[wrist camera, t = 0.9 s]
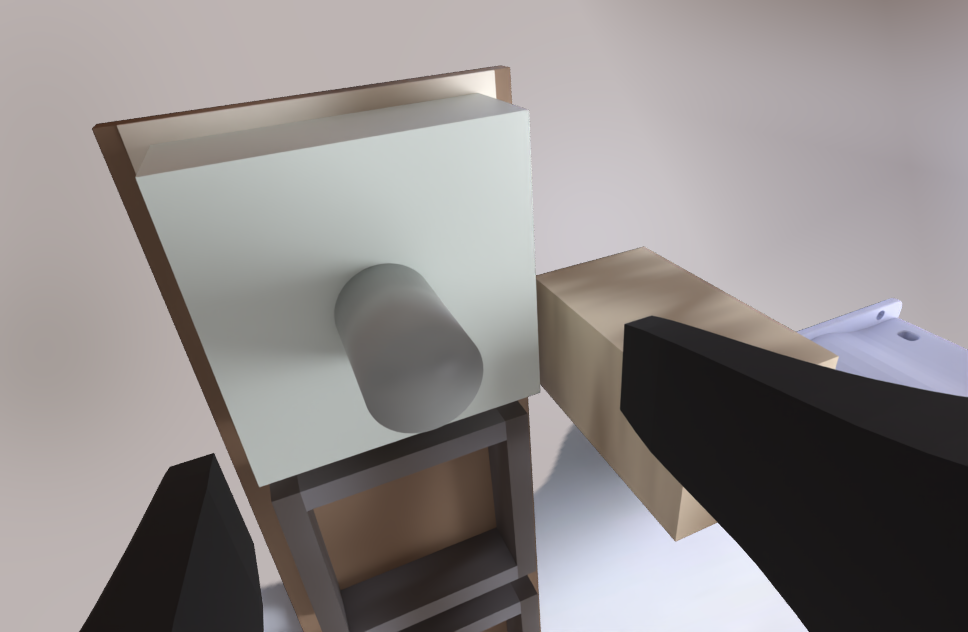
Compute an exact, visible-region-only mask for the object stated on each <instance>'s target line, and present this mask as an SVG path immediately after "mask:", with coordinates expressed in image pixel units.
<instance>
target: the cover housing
mask: <svg viewBox="0 0 968 632" xmlns="http://www.w3.org/2000/svg"><path fill="white" fill-rule="evenodd" d="M529 122H530V121H529V110H528V109H525V108H522V107H519V106H516V105H513V104H510V103H507V102H504V101H501V100H498V99H495V98H492V97H489V96H486V95H483V94H480V93H475V94H469V95H463V96H457V97H450V98H444V99H438V100H431V101H425V102H419V103H412V104H406V105H400V106H393V107H387V108H381V109H374V110H368V111H362V112H355V113H349V114H343V115H336V116H330V117H324V118H317V119H311V120H305V121H298V122H292V123H286V124H279V125H273V126H267V127H260V128H254V129H248V130H242V131H235V132H229V133H223V134H216V135H210V136H204V137H197V138H191V139H185V140H178V141H172V142H166V143H159V144H153V145H150V147H149V149H148V151H147V153H146V156H145V158H144V160H143V162H142V164H141V166H140V168H139V171H138V173H137V175H136V177H135V178H136V181H137V183H138V186H139V188H140V191H141V193H142V196H143V198H144V201H145V203H146V206H147V208H148V211H149V213H150V216H151V218H152V221H153V223H154V226H155V228H156V231H157V233H158V236H159V238H160V241H161V243H162V246H163V248H164V251H165V253H166V256H167V258H168V261H169V263H170V266H171V268H172V271H173V273H174V276H175V278H176V281H177V283H178V286H179V288H180V291H181V293H182V296H183V298H184V301H185V303H186V306H187V308H188V311H189V313H190V316H191V318H192V321H193V323H194V326H195V328H196V331H197V333H198V336H199V338H200V341H201V343H202V346H203V348H204V351H205V353H206V356H207V358H208V361H209V363H210V366H211V368H212V371H213V373H214V376H215V378H216V381H217V383H218V386H219V388H220V391H221V393H222V396H223V398H224V401H225V403H226V406H227V408H228V411H229V413H230V416H231V418H232V421H233V423H234V426H235V428H236V430H237V433H238V435H239V438H240V440H241V443H242V445H243V448H244V450H245V453H246V455H247V458H248V460H249V463H250V465H251V468H252V470H253V473H254V475H255V478H256V480H257V483H258V485H259V487H262V486H265V485H268V484H271V483H273V482H276V481H279V480H282V479H285V478H288V477H291V476H294V475H297V474H300V473H303V472H306V471H309V470H312V469H315V468H318V467H321V466H324V465H327V464H330V463H333V462H336V461H339V460H342V459H345V458H348V457H351V456H354V455H357V454H360V453H363V452H366V451H368V450H371V449H374V448H377V447H380V446H383V445H386V444H389V443H392V442H395V441H398V440H401V439H404V438H407V437H410V436H413V435H416V434H419V433H422V432H427V431H431V430H434V429H437V428H439V427H442V426H444V425H446V424H449V423H452V422H455V421H458V420H461V419H464V418H466V417H469V416H472V415H475V414H478V413H481V412H484V411H487V410H490V409H493V408H496V407H499V406H502V405H505V404H508V403H511V402H514V401H517V400H520V399H523V398H526V397H529V396H531V395H535V394H538V393H540V370H539V345H538V320H537V295H536V270H535V245H534V221H533V196H532V173H531V146H530V123H529Z"/></svg>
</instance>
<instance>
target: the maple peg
mask: <svg viewBox="0 0 968 632" xmlns="http://www.w3.org/2000/svg"><path fill="white" fill-rule="evenodd" d="M536 295H537V320H538V345H539V370H540V384H541V386H542V387H543V388H544V389H545V390H546V391H547V392H548V394H549V395H550V396H551V397H552V398H553V400H554V401H555V402H556V403H557V404H558V405H559V407H560V408H561V409H562V410H563V411H564V412H565V414H566V415H567V416H568V417H569V418H570V419H571V421H572V422H573V423H574V424H575V425H576V426H577V428H578V429H579V430H580V431H581V432H582V433H583V435H584V436H585V437H586V438H587V439H588V440H589V442H590V443H591V444H592V445H593V446H594V447H595V449H596V450H597V451H598V452H599V453H600V454H601V456H602V457H603V458H604V459H605V460H606V461H607V463H608V464H609V465H610V466H611V467H612V468H613V470H614V471H615V472H616V473H617V474H618V475H619V477H620V478H621V479H622V480H623V481H624V482H625V484H626V485H627V486H628V487H629V488H630V489H631V491H632V492H633V493H634V494H635V495H636V496H637V498H638V499H639V500H640V501H641V502H642V503H643V504H644V506H645V507H646V508H647V509H648V510H649V511H650V513H651V514H652V515H653V516H654V517H655V518H656V520H657V521H658V522H659V523H660V524H661V525H662V527H663V528H664V529H665V530H666V531H667V532H668V534H669V535H670V536H671V537H672V538H673V539H674V541H675V542H676V541H678V540H680V539H682V538H685V537H687V536H689V535H691V534H693V533H696V532H698V531H700V530H702V529H704V528H706V527H709V526H711V525H713V524H715V523H717V521H716V520H715V519H714V518H713V517H712V516H711V515H710V514H709V513H708V512H707V511H706V510H705V509H704V508H703V507H702V506H701V505H700V504H699V503H698V502H697V501H696V500H695V499H694V497H693V496H692V495H691V494H690V493H689V492H688V491H687V490H686V489H685V488H684V487H683V486H682V485H681V484H680V483H679V482H678V481H677V480H676V479H675V478H674V477H673V476H672V474H671V473H670V472H669V471H668V470H667V469H666V468H665V467H664V466H663V465H662V464H661V463H660V462H659V461H658V460H657V459H656V457H655V456H654V455H653V454H652V453H651V452H650V451H649V449H648V448H647V447H646V445H645V444H644V443H643V441H642V440H641V439H640V437H639V436H638V435H637V433H636V432H635V431H634V429H633V428H632V426H631V425H630V423H629V422H628V421H627V419H626V418H625V416H624V415H623V413H622V412H621V411H620V398H621V378H622V359H623V340H624V324H626V323H629V322H632V321H635V320H639V319H642V318H645V317H648V316H651V315H652V316H657V317H661V318H665V319H669V320H673V321H676V322H680V323H683V324H686V325H690V326H693V327H696V328H700V329H703V330H706V331H709V332H712V333H715V334H718V335H722V336H725V337H728V338H731V339H734V340H737V341H740V342H743V343H747V344H750V345H753V346H756V347H759V348H763V349H766V350H769V351H772V352H776V353H779V354H782V355H786V356H789V357H792V358H796V359H799V360H803V361H806V362H810V363H813V364H817V365H821V366H825V367H828V368H832V369H835V368H836V365H837V361H838V358H839V356H838V355H836V354H834V353H832V352H831V351H829V350H827V349H825V348H823V347H822V346H820V345H818V344H816V343H815V342H813V341H811V340H809V339H807V338H806V337H804V336H802V335H800V334H799V333H797V332H795V331H793V330H791V329H789V328H788V327H786V326H784V325H783V324H781V323H779V322H777V321H775V320H774V319H771V318H770V317H768V316H767V315H765V314H763V313H761V312H759V311H758V310H756V309H754V308H752V307H750V306H749V305H747V304H745V303H743V302H741V301H740V300H738V299H736V298H735V297H733V296H731V295H729V294H727V293H725V292H724V291H722V290H720V289H718V288H717V287H715V286H713V285H711V284H710V283H708V282H706V281H704V280H703V279H701V278H699V277H697V276H695V275H694V274H692V273H690V272H688V271H687V270H685V269H683V268H681V267H679V266H678V265H676V264H674V263H672V262H670V261H669V260H667V259H665V258H663V257H662V256H660V255H658V254H656V253H654V252H653V251H651V250H649V249H647V248H646V247H640V248H637V249H633V250H629V251H626V252H622V253H618V254H614V255H611V256H607V257H603V258H599V259H596V260H592V261H588V262H585V263H581V264H577V265H573V266H570V267H566V268H562V269H558V270H555V271H551V272H547V273H543V274H540V275H536Z"/></svg>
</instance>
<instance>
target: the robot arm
mask: <svg viewBox="0 0 968 632" xmlns="http://www.w3.org/2000/svg"><path fill="white" fill-rule="evenodd" d="M901 308H902V302H901V301H900V300H898V299H895V298H890V299H887V300H884V301H882V302H879V303H876V304H873V305H870V306H867V307H865V308H862V309H859V310H856V311H854V312H850V313H848V314H845V315H842V316H839V317H837V318H834V319H831V320H828V321H825V322H822V323H819V324H817V325H814V326H811V327H808V328H805V329H802V330H800V331H797V333H799V334H800V335H802V336H804V337H806V338H807V339H809V340H811V341H813V342H815V343H816V344H818V345H820V346H822V347H823V348H825V349H827V350H829V351H831V352H832V353H834V354H836V355H838V356H839V358H838V361H837V365H836V368H835V369H832V368H828V367H825V366H821V365H817V364H813V363H810V362H806V361H803V360H799V359H796V358H792V357H789V356H786V355H782V354H779V353H776V352H772V351H769V350H766V349H763V348H759V347H756V346H753V345H750V344H747V343H743V342H740V341H737V340H734V339H731V338H728V337H725V336H722V335H718V334H715V333H712V332H709V331H706V330H703V329H700V328H696V327H693V326H690V325H686V324H683V323H680V322H676V321H673V320H669V319H665V318H661V317H657V316H652V315H651V316H648V317H645V318H642V319H639V320H635V321H632V322H629V323H626V324H624V340H623V359H622V378H621V398H620V411H621V412H622V413H623V415H624V416H625V418H626V419H627V421H628V422H629V423H630V425H631V426H632V428H633V429H634V431H635V432H636V433H637V435H638V436H639V437H640V439H641V440H642V441H643V443H644V444H645V445H646V447H647V448H648V449H649V451H650V452H651V453H652V454H653V455H654V456H655V457H656V459H657V460H658V461H659V462H660V463H661V464H662V465H663V466H664V467H665V468H666V469H667V470H668V471H669V472H670V473H671V474H672V476H673V477H674V478H675V479H676V480H677V481H678V482H679V483H680V484H681V485H682V486H683V487H684V488H685V489H686V490H687V491H688V492H689V493H690V494H691V495H692V496H693V497H694V499H695V500H696V501H697V502H698V503H699V504H700V505H701V506H702V507H703V508H704V509H705V510H706V511H707V512H708V513H709V514H710V515H711V516H712V517H713V518H714V519H715V520H716V521H717V522H718V523H719V524H720V526H721V527H722V528H723V529H724V530H725V531H726V532H727V533H728V534H729V535H730V536H731V537H732V538H733V539H734V540H735V541H736V542H737V543H738V544H739V545H740V547H741V548H742V549H743V550H744V551H745V552H746V553H747V554H748V556H749V557H750V558H751V559H752V560H753V561H754V562H755V563H756V565H757V566H758V567H759V568H760V570H761V571H762V572H763V573H764V575H765V576H766V577H767V578H768V580H769V581H770V582H771V583H772V585H773V586H774V587H775V589H776V590H777V591H778V592H779V594H780V595H781V596H782V597H783V599H784V600H785V601H786V602H787V604H788V605H789V606H790V607H791V609H792V610H793V611H794V612H795V614H796V615H797V616H798V618H799V619H800V620H801V622H802V623H803V624H804V626H805V627H806V628H807V630H808V631H809V632H968V349H966V348H964V347H961V346H959V345H957V344H955V343H952V342H950V341H948V340H946V339H944V338H942V337H939V336H937V335H935V334H933V333H931V332H928V331H926V330H924V329H922V328H920V327H917V326H915V325H913V324H911V323H909V322H907V321H904V320H902V319H900V318H898V316H899V314H900V310H901ZM79 632H264V629H263V604H262V597H261V589H260V583H259V575H258V569H257V562H256V555H255V549H254V543H253V541H252V539H251V536H250V534H249V532H248V529H247V527H246V525H245V523H244V521H243V518H242V516H241V514H240V511H239V509H238V507H237V504H236V502H235V500H234V498H233V495H232V493H231V491H230V488H229V486H228V484H227V482H226V480H225V477H224V475H223V473H222V470H221V468H220V466H219V463H218V461H217V459H216V457H215V454H214V453H212V454H209V455H206V456H203V457H200V458H197V459H193V460H190V461H187V462H184V463H181V464H178V465H175V466H171V467H170V468H169V469H168V471H167V472H166V473H165V475H164V477H163V479H162V481H161V483H160V485H159V487H158V489H157V491H156V493H155V494H154V496H153V498H152V501H151V502H150V504H149V506H148V508H147V510H146V512H145V514H144V516H143V518H142V520H141V522H140V524H139V526H138V528H137V530H136V532H135V534H134V536H133V537H132V539H131V541H130V543H129V545H128V547H127V549H126V551H125V553H124V555H123V556H122V558H121V560H120V562H119V563H118V565H117V567H116V569H115V571H114V572H113V574H112V576H111V578H110V580H109V581H108V583H107V585H106V587H105V588H104V590H103V592H102V594H101V596H100V597H99V599H98V601H97V603H96V605H95V606H94V608H93V610H92V611H91V613H90V615H89V617H88V618H87V620H86V622H85V623H84V625H83V626H82V628H81V630H80V631H79Z"/></svg>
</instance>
